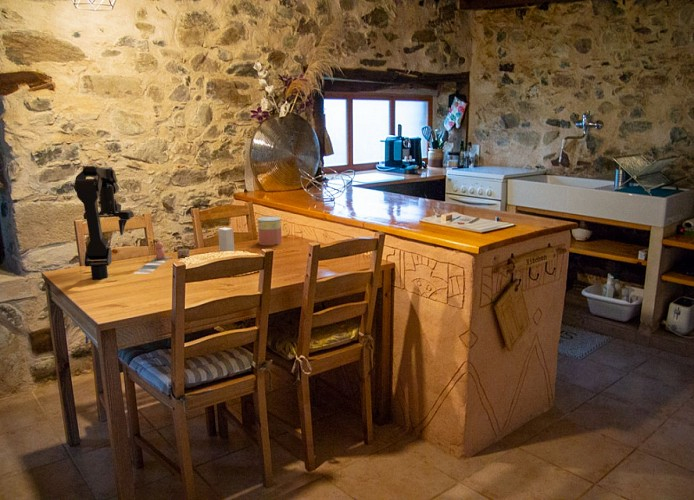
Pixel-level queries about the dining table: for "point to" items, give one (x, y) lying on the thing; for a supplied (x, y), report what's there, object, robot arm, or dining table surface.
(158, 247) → the pink upright cylinder
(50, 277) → the dining table surface
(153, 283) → the dining table surface
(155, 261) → the track board
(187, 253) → the die
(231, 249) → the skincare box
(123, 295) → the dining table surface
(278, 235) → the canned food
